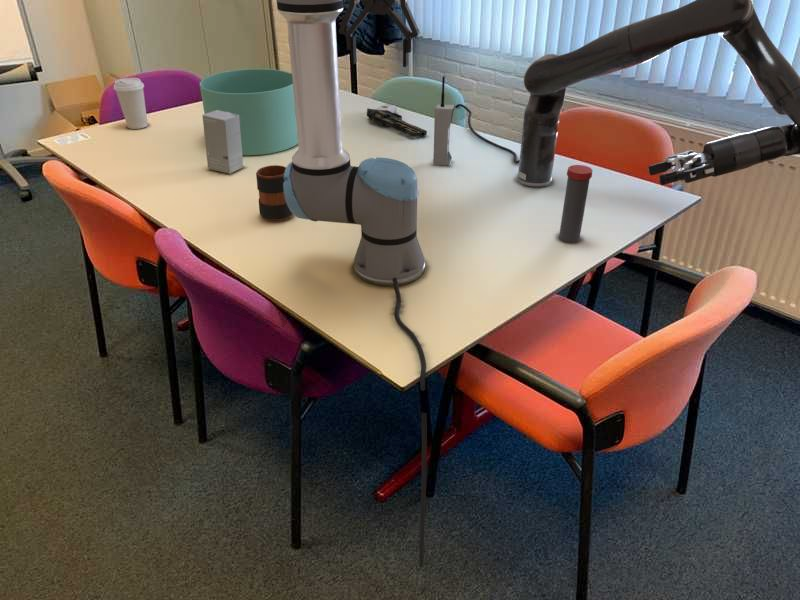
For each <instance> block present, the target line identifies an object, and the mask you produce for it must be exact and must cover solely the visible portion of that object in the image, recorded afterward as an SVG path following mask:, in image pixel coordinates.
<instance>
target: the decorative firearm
mask: <svg viewBox="0 0 800 600" xmlns="http://www.w3.org/2000/svg"><path fill="white" fill-rule="evenodd" d="M397 110H398V107H397V105H393V104H388V103H385V104H382V105H379V106H378V107H376V108H369V107H367V108H366V117H367V118H368V119H369V120H370V121H373V122H374V123H377V124H379V125H382V126H383V127H384V126H389V127H391V128H393V129H395V130H397V131H399V132H401V133H404V134H406V135H408V136H411V137H415V138H416V137H419V138H424V137H426V136H427V132H428V130H426V129H423V128H421V127H420V126H416V125H413V124H411V123H409V122H406V121H405V120H403V115H401V114H399V113H397Z"/></svg>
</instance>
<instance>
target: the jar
mask: <svg viewBox="0 0 800 600" xmlns="http://www.w3.org/2000/svg"><path fill="white" fill-rule="evenodd" d="M590 181H591V178H590V179H588V180H574V179H571V178H569V177H568V176H567V181H566V187H565V192H564V193H565V194H564V202H563V206H562V207H563V208H562V214H561V221H560V227H559V234H558V239H559V240H560V241H561V242H564V243H568V244H574V243H577V242H579V241H580V238H581V232H582V227H583V221H584V215H585V210H586V209H585V208H586V203H587V197H588V191H589V185H590Z"/></svg>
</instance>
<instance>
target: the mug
mask: <svg viewBox="0 0 800 600" xmlns="http://www.w3.org/2000/svg"><path fill="white" fill-rule="evenodd" d="M286 167H287V166H283V165H277V164H274V165H268V166H263V167H260V168H259V169H257V171H256V173H255V176H256V178H255V179H256V187H257V188H256V189H257V190H258V211H259V215H260V217H261V218H262V219H263V220H264V221H267V222H272V223H273V222H275V223H276V222H277V223H278V222H283V221H287V220H289V219H291V218H292V217H293V215H294V214H293V213H292V212H291V211H290V209H289V208H288V205H287V203H286V199H285V195H284V188H283V183H284V182H285V180H284V172H285V169H286Z"/></svg>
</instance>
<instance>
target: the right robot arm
mask: <svg viewBox="0 0 800 600" xmlns="http://www.w3.org/2000/svg"><path fill="white" fill-rule="evenodd" d="M712 35H719V36H720V37H721V38H722V39H724V41H726V42H727V43H728V44H729V45H730V47H732V48H733V50H734V51H735V52H736V53H737V54H738V55H739V57H740V58H741V60H742V61H743V63H744V64H745V65H746V67H747V70H748V71H749V73H750V75H751V76H752V78H753V81H754V82H755V84H756V85H757V87H758V89H759V90H760V92H761V94H762V95H763V97H765V99H766V100H767V102H768V103H769V104H770V106H771V107H772V109H773V111H774V112H776V113H777V115H779V116H787V117H788V118H789V119H790V120H791V121H792V123H789V124H785V125H781V126H778V125H771V126H767V127H763V128H759V129H756V130H752V131H747V132H742V133H737V134H734V135H730V136H726V137H723V138H719V139H716V140H713V141H709V142H706V143H705V144H704V145H703V148H702V149H703V150H702V152H701V153H697V152H694V149H693V150H692V149H691V150H687V151H683V152H680V153H676V154H672V155H667V156H665V159H664V161H661V162H656V163H653V164H649V165H648V167H647V170H648V174H649V175H650V176H655V175H658V181H659V184H660V185H661V186H666V185H669V184H673V183H676V182H679V183H681V182H684V183H685V184H689V183H693V182H695V181H699V180H704V179H707V178H710V177H714V178H716V177H719V176H723V175H728V174H730V173H734V172H737V171H741V170H745V169H749V168H751V167H753V166H755V165H759V164H762V163H765V162H770V161H773V160H776V159H779V158H782V157H790V156H795V155H800V75H799V74H798V72H797V71H796V70H795V68H794V67H793V66H792V65H791V63H790V62H789V61H788V60H787V58H786V57H785V56H784V55H783V54H782V53H781V51H780V50H779V49H778V48H777V47H776V44H774V43H773V41H772V40H771V38H770V37H769V35H768V34H767V32H766V31H765V29H764V27H763V25H762V23H761V21H760V19H759V16H758V14H757V12H756V9H755V7H754V2H753V0H693V1H691V2H689V3H686V4H685V5H683V6H680V7H678V8H676V9H673V10H670V11H667V12H663V13H660V14H657V15H653V16H650V17H647V18H643V19H641V20H638V21H635V22H631V23H630V24H627V25H625V26H622V27H619V28H616V29H613V30H612V31H609V32H607V33H605V34H603V35H601V36H599V37H597V38H595V39H593V40H592V41H589V42H587V43H586V44H584V45H583V46H581V47H579V48H576V49H575V50H573V51H569V52H567V53H563V54H560V55H559V54H554V53H548V54H545V55H542V56H541V57H538V58H537V59H536V60H534V61H533V62H531V64H530V65H529V66H528V67H527V69H526V70H525V73H524V76H523V84H524V85H523V86H524V87H525V89H526V91H527V92H528V93H529V99H528V101H527V104H526V106H525V108H524V112H523V123H522V134H521V142H520V143H521V144H520V153H519V159H518V156H517V153H516V152H515V151H514V150H512V149H510V148H507V147H505V146H502V145H500V144H498V143H495V142H493V141H491V140H489V139H487V138H485V137H484V136H482V135H481V134H479V133H478V132H476V131H475V130H474V128H473V127H472V123H471V117H472V115H473V114H472V111H471V110H470V109H469V107H467V106H466V105H464V104H462V103H458V104H456V105H455V108H456V109H457V108H459V107H461V108H462V109H464V110H465V111H466V112H467V113H468V117H467V125H468V127H469V130H470V132H471V133H472V134H473V135H475V136H476V137H477V138H478V139H480V140H482V141H484V142H485V143H487V144H489V145H492V146H493V147H495V148H498V149H500V150H503V151H505V152H508V153H510V154H511V155H513V162H514V163H515V164H518V172H517V176H516V180H517V182H518V183H519V184H521V185H523V186H526V187H533V188H541V187H546V186H547V187H548V186H549V185H551V183H552V181H553V171H554V170H553V169H554V162H555V155H556V147H557V141H558V133H559V124H560V117H561V114H562V111H563V108H564V104H565V98H566V92H567V88H568V87H570V86H573V85H574V84H577V83H580V82H582V81H585V80H589V79H594V78H598V77H602V76H606V75H609V74H614V73H616V72H619V71H624V70H626V69H629V68H632V67H635V66H639V65H641V64H644V63H647V62H649V61H651V60H652V59H655V58H656V57H659V56H661V55H662V54H664V53H665V52H667V51H669V50H671V49H673V48H675V47H676V46H679V45H681V44H683V43H687V42H689V41H692V40H693V41H694V40H695V39H699V38H702V37H707V36H712Z"/></svg>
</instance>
